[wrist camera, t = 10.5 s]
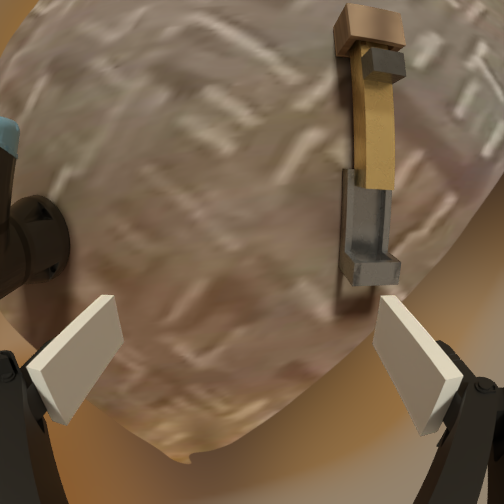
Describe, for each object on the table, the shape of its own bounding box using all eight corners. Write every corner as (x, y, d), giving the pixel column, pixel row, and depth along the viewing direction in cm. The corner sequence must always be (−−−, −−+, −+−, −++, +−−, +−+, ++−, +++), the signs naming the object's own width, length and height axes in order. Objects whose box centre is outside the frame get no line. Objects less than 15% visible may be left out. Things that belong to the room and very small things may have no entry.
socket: (335, 56, 35) (351, 35, 27) (333, 27, 33) (346, 2, 26) (383, 62, 35) (405, 45, 27) (379, 34, 33) (400, 13, 25)
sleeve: (338, 266, 43) (352, 286, 36) (342, 168, 39) (359, 169, 32) (378, 266, 43) (398, 284, 36) (385, 171, 39) (407, 173, 32)
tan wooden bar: (353, 185, 39) (376, 191, 30) (347, 35, 33) (365, 8, 24) (380, 186, 39) (409, 193, 30) (373, 39, 33) (397, 15, 24)
